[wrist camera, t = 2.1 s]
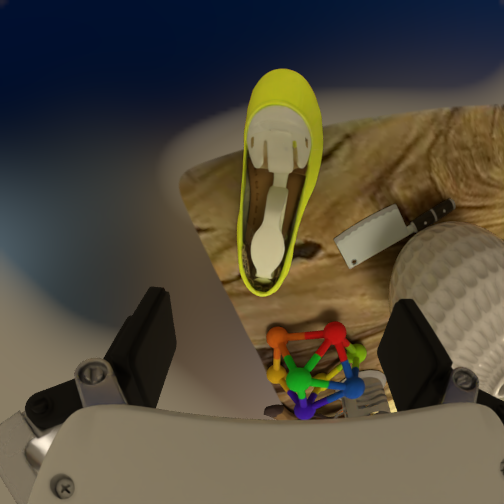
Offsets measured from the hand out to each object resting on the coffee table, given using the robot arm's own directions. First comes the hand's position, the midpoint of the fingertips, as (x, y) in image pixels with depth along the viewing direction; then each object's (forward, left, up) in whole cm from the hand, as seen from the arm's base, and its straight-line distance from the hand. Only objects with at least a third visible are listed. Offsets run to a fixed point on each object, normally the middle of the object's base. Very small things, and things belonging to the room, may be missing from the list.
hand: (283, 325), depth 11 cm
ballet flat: (-1, 0, -23) cm, 23 cm away
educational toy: (+23, +21, -17) cm, 35 cm away
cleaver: (-7, +12, -22) cm, 26 cm away
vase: (-4, +21, -22) cm, 31 cm away
